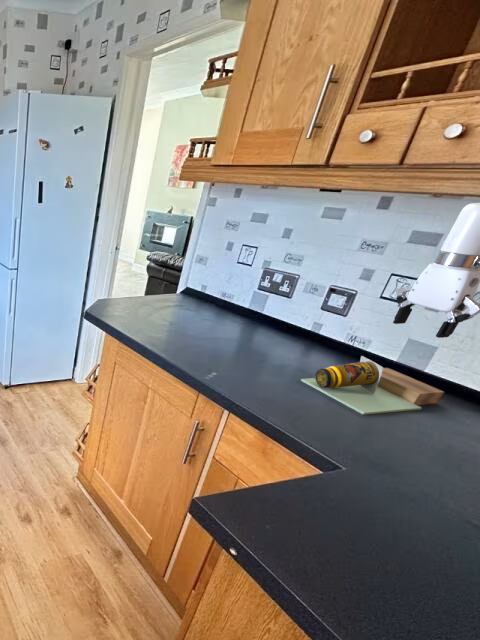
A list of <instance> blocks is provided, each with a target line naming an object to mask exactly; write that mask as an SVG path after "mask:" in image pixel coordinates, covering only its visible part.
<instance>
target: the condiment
mask: <svg viewBox="0 0 480 640" xmlns="http://www.w3.org/2000/svg"><path fill="white" fill-rule="evenodd" d="M383 368H384V367H383V366H382V365H380V364H378V363H376V362H375V361H373V360H371V359H369V358H367V357H365V356H364V355H361V356H360V360H359V361H358V362H350V363H345V364H335V365H330V366H328V367H324V368H319V369H317V370H316V372H315V374H314V378H315V380H316V382H317V384H318V385H319V386H320V387H323V388H326V387H334V388H338V387H346V386H354V385H359V386H361V387H363V388H364V389H366V390H367V391H369V392H371V393H372V394H373V395H375V392H376V388H377V385H378V383H379V380H380V377H381V374H382V371H383Z"/></svg>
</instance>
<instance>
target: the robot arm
mask: <svg viewBox="0 0 480 640" xmlns="http://www.w3.org/2000/svg"><path fill="white" fill-rule="evenodd" d="M479 286H480V202H472V203H468V204H466V205H464V207H462V209H461V210H460V212H459V214H458V216H457V217H456V220H455V221H454V223H453V225H452V226H451V228H450V231H449V232H448V235H447V237H446V238H445V240H444V242H443V243H442V246H441V248H440V250H439V251H438V253H437V255H436V257H435V259H434V261H433V262H430V263H429V264H428V265H427V266H426V267H425V268H424V270H423V271H422V272H421V273H420V275H419V276H418V278H417V279H416V281H415V282H414V283H413V285H409V286H403V287H397V288H396V297H395V300H396V303H397V309H398V310H397V312H396V314H395V315H394V320H393V322H392V323H393V324H394V325H401V324H403V325H404V324H406V323H407V321H408V319H409V317H410V315H411V314H412V312H413V308H412V307H414V306H420V307H423V308H427V309H430V310H435V311H438V312H441V313H442V312H443V313H445V316H446V319H447V321H443V323H442V324H441V325H440V327H439V329H438V331H437V333H436V334H435V337H436V338H438V339H442V338H449V337H450V336H451V335H453V333H454V332H455V330H456V328H457V326H458V325H459V324H460V323H463V322H465V321H467V320H470V319H473V318H474V317H475V316H477V315H479V314H480V304H479V303H478V302H477V301H476V300H475V299H474V298H475V296H476V293H477V292H478V291H477V290H478V288H479ZM408 292H409V293H408ZM407 293H408V295H407ZM467 309H468V310H467ZM466 310H467V312H465V311H466ZM462 312H465V313H462Z"/></svg>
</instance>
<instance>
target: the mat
mask: <svg viewBox="0 0 480 640" xmlns="http://www.w3.org/2000/svg"><path fill="white" fill-rule="evenodd" d="M300 382H302V383H304V384H306V385H308V386H310V387H311V388H313V389H315V390H317V391H319V392H320V393H322V394H324V395H326V396H327V397H330V398H331V399H333V400H335V401H336V402H337V401H338V402H339V403H341V404H343V405H345V406H346V407H348V408H350V409H352V410H354V411H356V412H357V413H359V414H361V415H364V416H365V415H376V414H385V413H398V412H399V413H400V412H408V411H419V410H422V408H423V407H422V406H421V405H415V404H413V403H411V402H409V401H407V400H405V399H403V398H401V397H399V396H396V395H394V394H392V393H390V392H388V391H386V390H384V389H382V388H380V387H377V388H376V392H375V395H373V394H372V393H371V392H369V391H367V390H366V389H364V388H363V387H361V386H359V385H354V386H346V387H338V388H334V387H326V388H323V387H320V386H319V385H318V384H317V382H316V380H315V377H310V378H301V379H300Z"/></svg>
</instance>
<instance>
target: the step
mask: <svg viewBox="0 0 480 640" xmlns="http://www.w3.org/2000/svg"><path fill="white" fill-rule="evenodd" d="M377 387H380V388H382V389H384V390H386V391H388V392H390V393H392V394H394V395H396V396H399V397H401V398H403V399H405V400H407V401H409V402H411V403H413V404H415V405H418V406H422V405H433V404H438V402H439V401H440V399H441V398H442V396H443V395H444V393H445V391H444V390H441V389H438V388H436V387H434V386H432V385H430V384H427V383H425V382H422V381H420V380H417V379H415V378H413V377H411V376H408V375H406V374H403V373H401V372H400V371H396V370H394V369H392V368H389V367H383V371H382V374H381V377H380V380H379V383H378V385H377Z"/></svg>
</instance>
